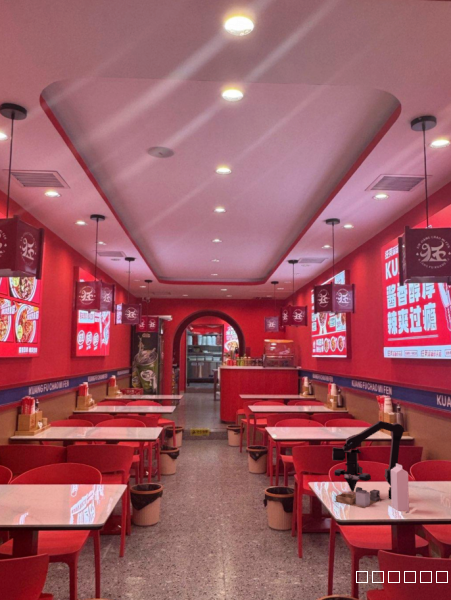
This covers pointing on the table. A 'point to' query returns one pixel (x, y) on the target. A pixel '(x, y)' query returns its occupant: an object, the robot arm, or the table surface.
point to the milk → (399, 489)
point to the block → (363, 498)
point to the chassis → (351, 498)
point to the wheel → (358, 489)
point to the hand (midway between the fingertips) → (352, 491)
